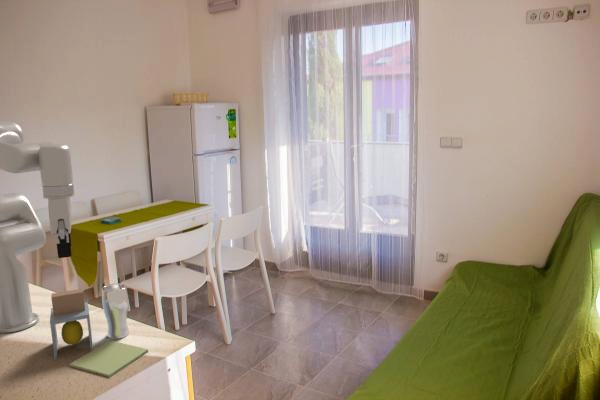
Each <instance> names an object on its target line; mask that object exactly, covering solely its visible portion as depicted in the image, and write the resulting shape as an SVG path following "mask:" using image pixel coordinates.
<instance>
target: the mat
mask: <svg viewBox="0 0 600 400" xmlns="http://www.w3.org/2000/svg"><path fill="white" fill-rule="evenodd" d="M147 353H149V349H148V348H143V347H140V346H135V345H132V344H127V343H124V342H123V343H122V342H120V341H119V342H118V341H114V340H112V339H110V340H108V341H107V342H105V343H104V344H102V345H100V346H98V347H97V348H95V349H92V350H90V352H87V353H86V354H84V355H82V356H81V357H79V358H78V359H76V360H74V361H72V362H71V363H69V367H73V368H76V369H79V370H82V371H86V372H90V373H93V374H96V373H97V375H101V376H105V377H108V378H111V377H112V376H113V375H116V373H118V372H120V371H121V370H123V369H125V368H126V367H127V366H128V365H130V364H132V363H133V362H135V361H136V360H138V359H139V358H141V357H142V356H143V355H145V354H147Z"/></svg>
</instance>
